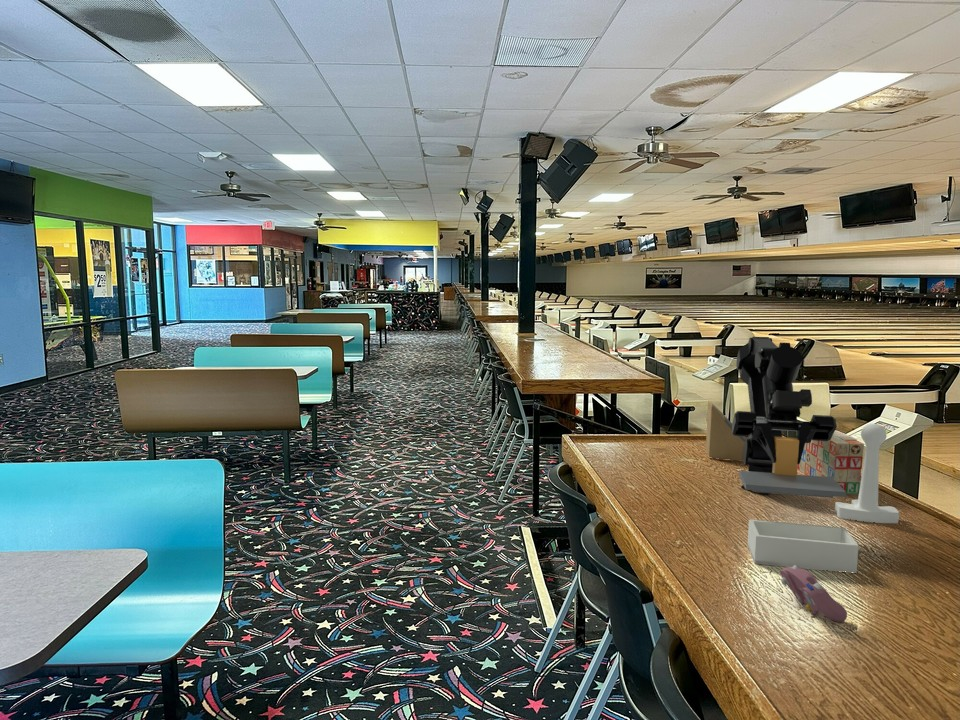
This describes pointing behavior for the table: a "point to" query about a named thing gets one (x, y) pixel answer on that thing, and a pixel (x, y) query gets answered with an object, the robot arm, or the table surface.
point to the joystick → (869, 484)
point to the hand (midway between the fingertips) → (786, 462)
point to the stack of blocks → (835, 460)
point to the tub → (802, 546)
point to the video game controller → (812, 593)
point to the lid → (790, 475)
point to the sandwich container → (722, 436)
